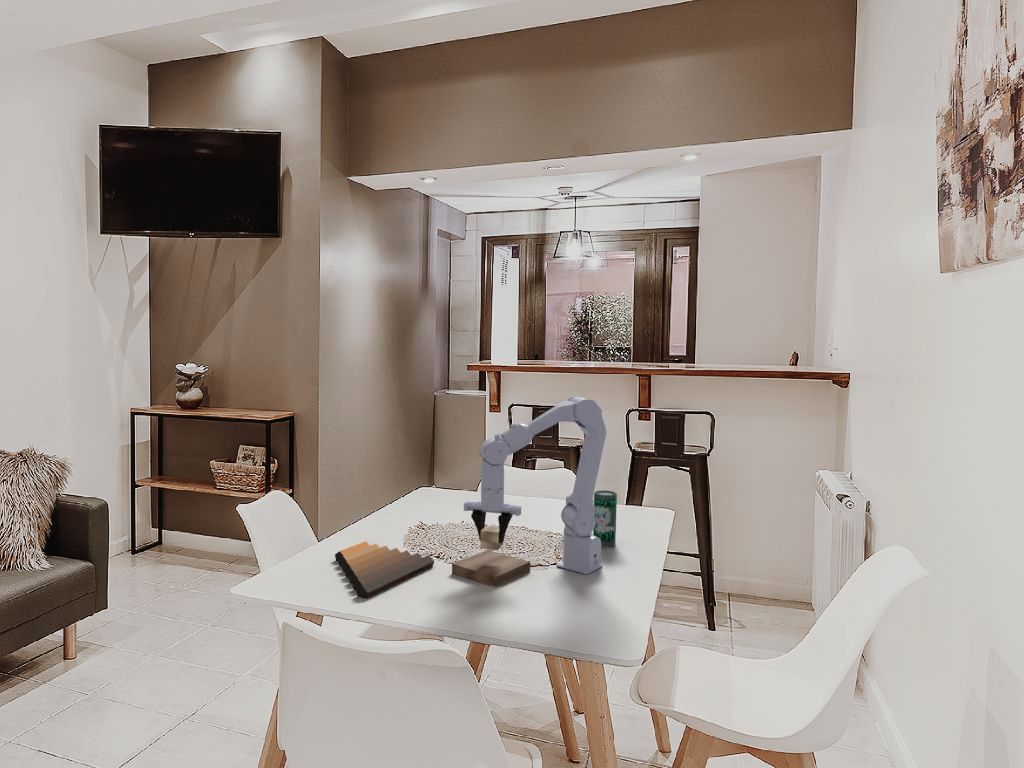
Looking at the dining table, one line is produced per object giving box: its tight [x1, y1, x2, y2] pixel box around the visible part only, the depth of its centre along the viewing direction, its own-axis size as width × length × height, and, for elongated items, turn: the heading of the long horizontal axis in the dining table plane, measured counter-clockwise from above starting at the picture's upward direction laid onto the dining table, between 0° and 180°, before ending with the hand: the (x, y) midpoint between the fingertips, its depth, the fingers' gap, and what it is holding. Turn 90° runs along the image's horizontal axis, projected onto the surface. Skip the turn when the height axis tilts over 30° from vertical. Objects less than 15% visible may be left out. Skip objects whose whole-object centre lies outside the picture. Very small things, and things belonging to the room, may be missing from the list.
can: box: [592, 490, 618, 548], centre depth 192 cm, size 6×6×15 cm
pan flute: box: [334, 541, 435, 600], centre depth 167 cm, size 25×3×25 cm
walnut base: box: [451, 549, 531, 588], centre depth 168 cm, size 14×14×2 cm
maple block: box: [480, 525, 504, 551], centre depth 167 cm, size 4×4×4 cm
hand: (491, 541), depth 167 cm, fingers closed on maple block, 4 cm apart
